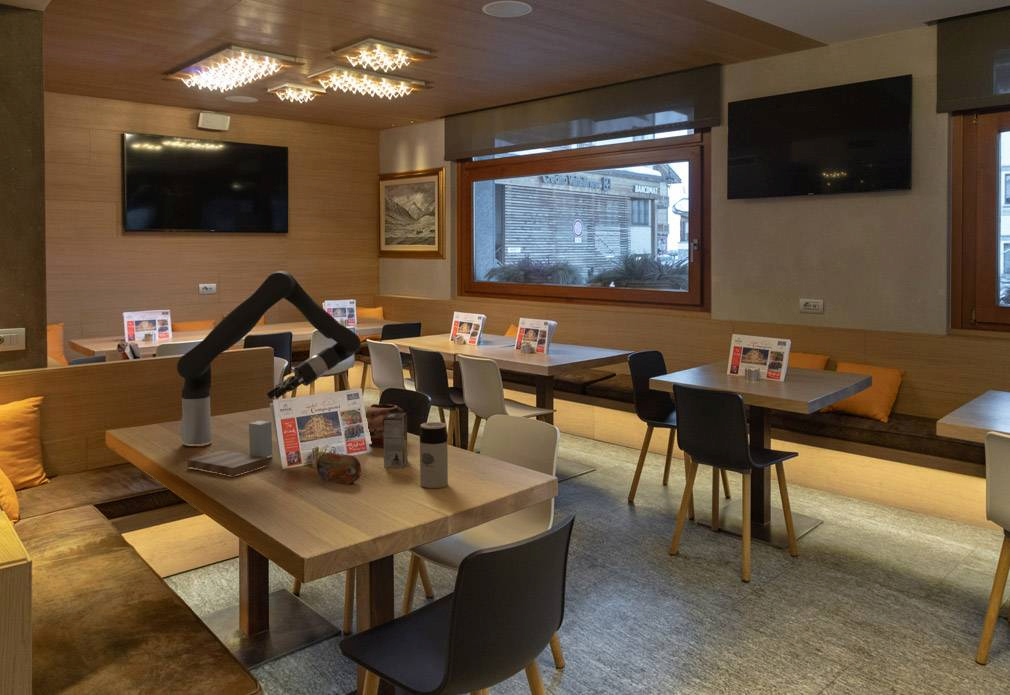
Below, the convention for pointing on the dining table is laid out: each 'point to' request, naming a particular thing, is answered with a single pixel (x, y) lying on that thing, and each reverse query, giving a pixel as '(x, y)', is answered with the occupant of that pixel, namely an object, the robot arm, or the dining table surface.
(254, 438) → the slate block
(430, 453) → the travel mug
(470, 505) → the dining table surface
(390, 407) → the decorative planter
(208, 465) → the walnut plinth
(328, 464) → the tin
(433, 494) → the dining table surface
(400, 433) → the coffee box
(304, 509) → the dining table surface
